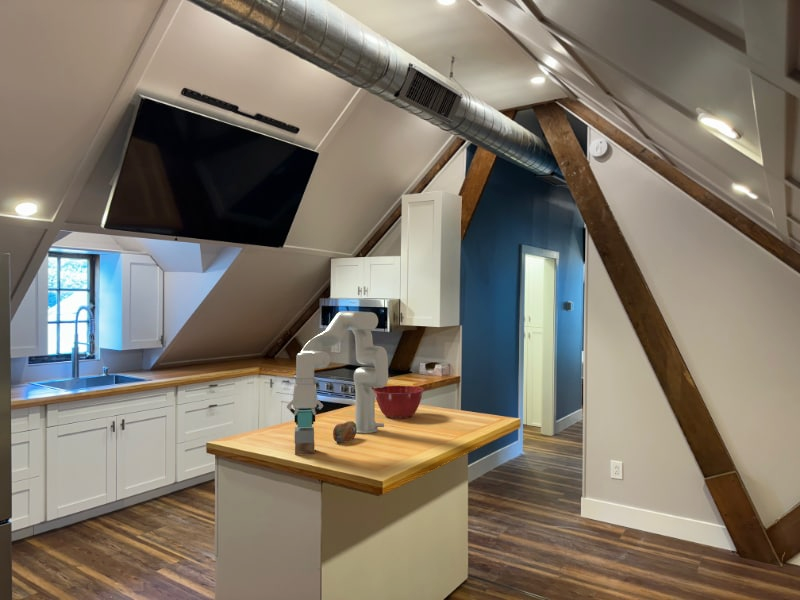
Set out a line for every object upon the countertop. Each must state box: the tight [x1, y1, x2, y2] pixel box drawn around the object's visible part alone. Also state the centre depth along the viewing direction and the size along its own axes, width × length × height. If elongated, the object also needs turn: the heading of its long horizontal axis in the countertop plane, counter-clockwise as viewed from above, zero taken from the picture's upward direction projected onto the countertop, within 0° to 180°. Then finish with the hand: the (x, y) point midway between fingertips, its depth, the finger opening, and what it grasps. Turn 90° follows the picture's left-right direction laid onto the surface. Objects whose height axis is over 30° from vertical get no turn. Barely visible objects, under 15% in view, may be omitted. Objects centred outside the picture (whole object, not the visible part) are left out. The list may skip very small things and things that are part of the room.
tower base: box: [294, 442, 315, 456], centre depth 240 cm, size 8×8×5 cm
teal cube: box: [297, 409, 313, 427], centre depth 240 cm, size 6×6×6 cm
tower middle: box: [294, 426, 315, 444], centre depth 240 cm, size 8×8×5 cm
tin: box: [332, 420, 357, 444], centre depth 261 cm, size 15×3×8 cm, turn 148°
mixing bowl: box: [373, 385, 424, 419], centre depth 317 cm, size 28×28×16 cm
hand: (304, 423), depth 240 cm, fingers closed on teal cube, 6 cm apart
